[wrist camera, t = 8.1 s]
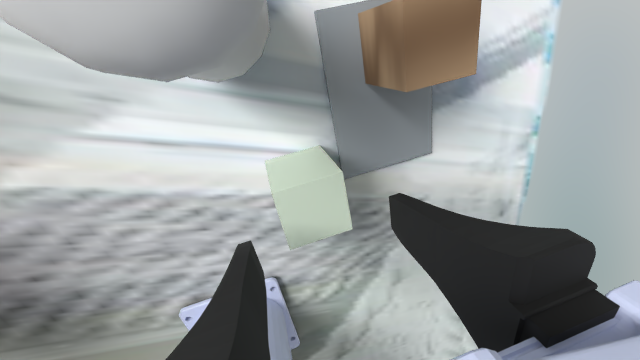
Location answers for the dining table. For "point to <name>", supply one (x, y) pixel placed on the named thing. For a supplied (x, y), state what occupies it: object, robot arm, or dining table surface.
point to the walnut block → (419, 42)
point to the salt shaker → (149, 34)
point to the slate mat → (368, 100)
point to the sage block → (309, 196)
